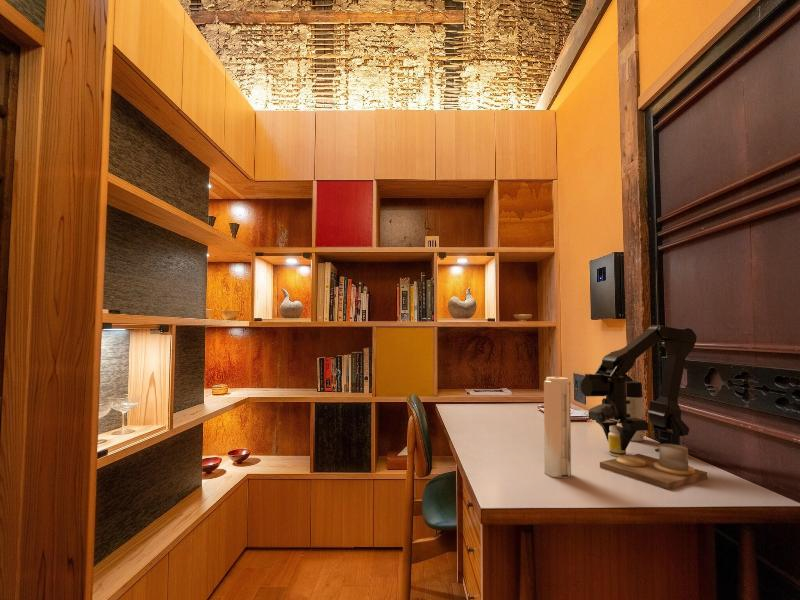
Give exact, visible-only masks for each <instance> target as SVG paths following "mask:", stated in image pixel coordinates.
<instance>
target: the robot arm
mask: <svg viewBox="0 0 800 600" xmlns="http://www.w3.org/2000/svg"><path fill="white" fill-rule="evenodd" d="M697 340H698V339H697V334H696V333H695V331H694V330H693V329H692V328H690V327H689V328H687V327H670V326H666V325H663V324H662V325H661V324H660V325H659V324H658V325H657V324H656V325H653V324H652V325H650V326H648V327H647V329H646V330H644V331H643V332H642V333H641V334H640V335H638V336H637V337H636V338H634V339H633V340H632V341H631V342H629V343H628V344H626V345H625V346H624V347H622V348H620V349H618V350H614V351H612V352H609V353H608V354H606V355H604V356H603V357H602V359H601V363H600V365H599V366H598V368H597V369H596V371H595V372H594V374H592V373H585V374H584V377H583V379H582V380H581V383H580V389H581V393H582V394H583V396H585V397H605V398H602V399H601V404H598V405H595V406H593V407H591V408H589V409H588V419H591V420H592V421H595V423H596V424H598V425H599V426H600V427H601V428H602V430H603V433H604V435H605V438H606V440H607V442H608V433H609V432H610V430H609V426H611V425H616V426H618V424H620V426H621V427H616V429H617V430H618V431H619V432H620V442H621V449H622V450H623V451H624V450H626V451H627V448H628V447H629V444H630V442H632V441H631V439H632V437H633V436H634V434H635V433H636V431H649V422H647V420H646V419H644V418H643V419H639V418H630V414H627V404H630V400H627V391H626V382H632V381H634V379H633V378H631V377H630V376H629V375H628V373H629V372H630V371H631V369H632V368H633V367H634V366H635V362H636V360H637V359H638V358H639V357H641V356H642V355H643V354H645V353H646V352H647V351H648V350H649V349H650V348H652V347H653V346H654V345H655V344H657V343H658V342H660V341H663V345H664V346H663V347H664V349H665V351H666V353H667V356H666V360H665V366H664V371H663V376H662V382H661V385H660V391H659V396H658V398H657V399H655V400H650V401H649V407H648V411H647V414H648V420H649V421H650V422H651V425H652V428H653V430H656V431H658V432H659V444H674V445H679V446H683V445H682V437H685V436H688V435H689V433H690V428H689V427H688V425H686V423H685V422H684V421H683V420H682V410H681V407H680V404H679V401H678V400H679V395H680V389H681V384H682V380H683V374H684V370H685V369H684V368H685V363H686V358H687V356H689V355H690V353H691V352H693V350H694V348H695V345H696V343H697ZM654 450H655V452H659V447H658V448H654Z"/></svg>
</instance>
